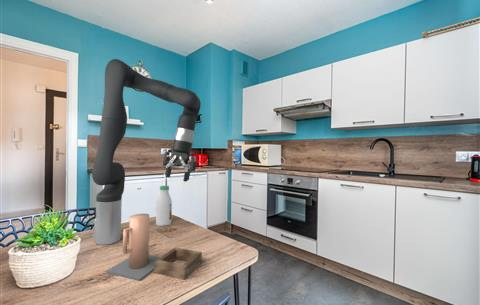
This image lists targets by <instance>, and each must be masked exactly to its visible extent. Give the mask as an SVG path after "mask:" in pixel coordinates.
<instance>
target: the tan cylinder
mask: <svg viewBox="0 0 480 305" xmlns="http://www.w3.org/2000/svg"><path fill="white" fill-rule="evenodd" d="M128 225H129V227H127V228H124V229H123V231H122V236H123V237H122V254H123V255H127V254H128V258H129V267H130V268H132V269H138V268H142V267H145V266H146V265H148V263H149V255H150V214H149V213H135V214H133V215H130V216H129V224H128ZM128 234H129V235H128ZM128 236H129V238H128ZM128 239H129V240H128ZM128 244H129V245H128Z"/></svg>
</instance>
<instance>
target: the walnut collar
mask: <svg viewBox="0 0 480 305" xmlns="http://www.w3.org/2000/svg"><path fill="white" fill-rule="evenodd" d="M159 257H160V256H159ZM176 260H177V261H181V262H185V263H183V264H182V263H176V262H175V261H176ZM202 263H203V252H202V251H197V250H191V249H186V248H180V247H173V248H172V249H170V250H169V251H168V252H166V253H165V254H163V255H162V256H161V257H160V258H159V259H158V260H156V261H155V262H154V271H153V273H154V274H157V275H162V276H166V277H171V278H175V279H179V280H186V279H187V278H188V277H189V276H190V274H192V273H193V272H194V271H195V270H196V268H198V267H199V265H201V264H202Z"/></svg>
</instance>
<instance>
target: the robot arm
mask: <svg viewBox="0 0 480 305" xmlns="http://www.w3.org/2000/svg"><path fill="white" fill-rule="evenodd" d="M124 88H129V89H135V90H138V91H141V92H145V93H147V94H150V95H151V96H153V97H156V98H159V99H160V100H163V101H166V102H168V103H170V104H171V103H172V104H177V105H179V106H181V107H183V110H182V114H179V117H178V119H177V120H178V121H177V125H176V129H175V130H176V131H175V133H174V139H173V145H172V152H171V151H165V152H164V156H163V162H162V166H163V167H165V174H164V176H165V177H166V178H171V175H172V167H174V165H178V166H182V167H183V169H184V171H185V172H184V175H183V182H184V183H185V182H188V181H189V180H190V176H191V173H192V172H195V171H196V169H197V160H198V157H197V156H191V153H192V149H193V143H194V137H195V128H196V121H197V119H198V116H199V113H200V109H201V100H200V98H199V96H198V95H197V94H196V93H195V92H194V91H192V90H190V89H187V88H183V87H179V86H175V85H173V84H171V83H168V82H165V81H163V80H159V79H155V78H150V77H148V76H145V75H143V74H142V73H139V72H138V71H136V70H135V69H133V67H131V66H130V65H129V64H127V63H125V62H124V61H123V60H120V59H118V58H113V59H111V60H109V61H108V63H106V66H105V70H104V98H103V105H102V113H101V120H100V128H99V130H100V131H99V137H98V143H97V150H96V154H95V158H94V162H93V166H92V171H91V172H92V173H91V176H92V180H93V182H94V184H96V185H98V186H104V187H103V188H102V190H101V191H100V192H98V193H97V194H96V199H95V200H96V201H95V202H96V204H95V208H96V209H95V218H94V220H93V242H94V243H95V244H96V245H99V246H101V245H102V246H106V245H111V244H115V243H117V242H119V241H120V240H121V239H122V202H123V199H122V198H123V194H124V191H125V183H126V181H125V180H126V170H125V168H124V166H123V164H121V163H119V162H117V161H114V156H115V153H116V150H117V148H118V147H119V145H120V144H121V142H122V140H123V139H124V137H125V135H126V131H127V124H128V112H127V110H126V106H125V102H124ZM189 162H190V163H189Z"/></svg>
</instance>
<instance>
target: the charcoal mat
mask: <svg viewBox="0 0 480 305" xmlns="http://www.w3.org/2000/svg"><path fill="white" fill-rule="evenodd" d="M159 258H160V256H156V255H152V254H149V263H148V265H146V266H145V267H142V268H138V269H132V268H130V267H129V257H127V258H126V259H124V260H122V261H121V262H119V263H118V264H115V265H114V266H112V267H111V268H109V269H107V270H106V271H105V273H106V274H110V275H114V276H117V277H121V278H126V279H129V280H133V281H138V282H140V281H142V280H143V279H145V278H146V277H147V276H148V275H150V274H151V273H153V272H154V262H155V261H156V260H158V259H159Z"/></svg>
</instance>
